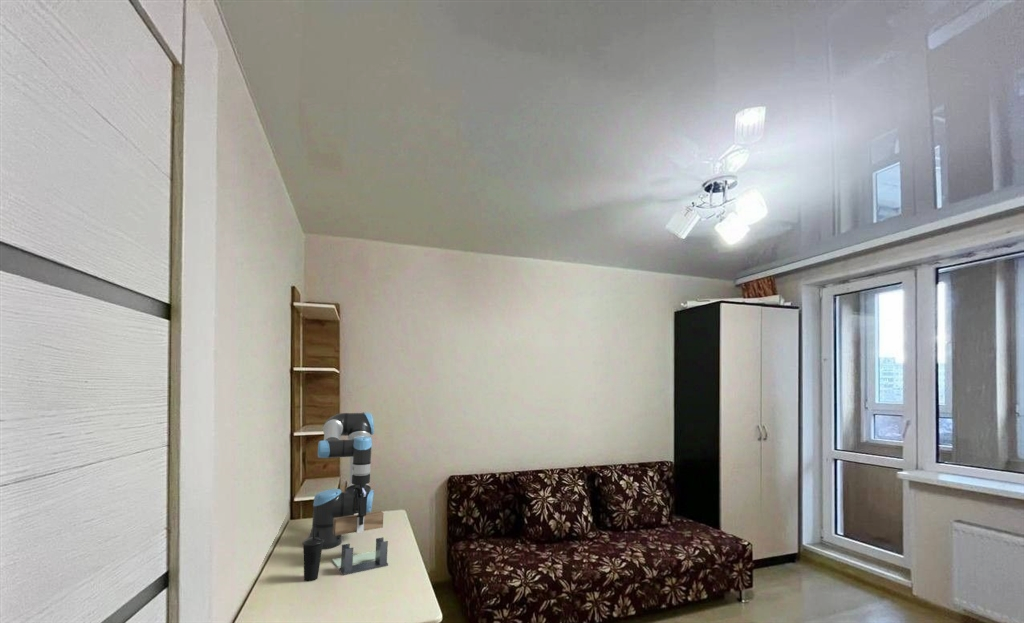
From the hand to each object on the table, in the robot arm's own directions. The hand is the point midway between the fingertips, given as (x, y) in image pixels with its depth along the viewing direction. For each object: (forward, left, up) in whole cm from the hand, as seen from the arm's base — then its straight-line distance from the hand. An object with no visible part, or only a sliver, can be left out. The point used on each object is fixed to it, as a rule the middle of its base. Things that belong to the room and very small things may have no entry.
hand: (358, 530), depth 202 cm
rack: (+10, 0, -12) cm, 15 cm away
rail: (0, 0, 0) cm, 0 cm away
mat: (0, 0, -12) cm, 12 cm away
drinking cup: (+9, -20, -12) cm, 25 cm away
